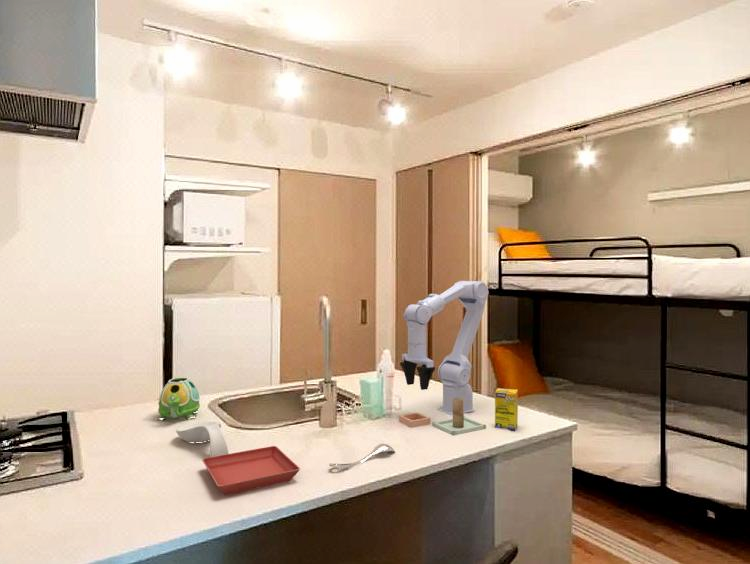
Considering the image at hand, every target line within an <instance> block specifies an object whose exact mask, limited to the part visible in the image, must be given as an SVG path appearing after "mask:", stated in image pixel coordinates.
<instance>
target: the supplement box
mask: <svg viewBox="0 0 750 564" xmlns="http://www.w3.org/2000/svg"><path fill="white" fill-rule="evenodd" d="M494 393H495V394H494V428H497V429H506V430H509V431H514V432H515V431H516V430H517V427H518V423H519V422H518V417H519V416H518V415H519V413H518V412H519V408H518V407H519V403H518V402H519V400H518V398H519V389H512V388H511V389H510V388H501V387H498V388H497V389H496V390H495V392H494Z"/></svg>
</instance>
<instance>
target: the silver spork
mask: <svg viewBox="0 0 750 564" xmlns="http://www.w3.org/2000/svg"><path fill="white" fill-rule="evenodd" d="M386 452H393V453H396V451H395V449H394V448H393V447H392V446H391V445H389V444H387V443H379V444H377V445H376V446H375V447H374V448H373V450H372V451H371V452H369V453H368V454H367V455H366V456H365V457H363V458H362V459H360V460H357V461H355V462H351V463H328V465H329V466H330V467H332V468H335V469H341V470H348V469H349V470H350V469H352V468H354V467H355V466H358V465H361V464H363V463H364V462H365V461H366V460H368V459H369V458H370V457H372V456H374V455H377V454H379V453H386ZM360 463H361V464H360Z"/></svg>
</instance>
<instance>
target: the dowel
mask: <svg viewBox="0 0 750 564" xmlns="http://www.w3.org/2000/svg"><path fill="white" fill-rule="evenodd" d="M452 403H453V415H452V419H453V427H454V428H463V427H464V417H465V416H464V414H465V413H464V404H463V399H462V398H454V399H452Z"/></svg>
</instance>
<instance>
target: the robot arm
mask: <svg viewBox="0 0 750 564" xmlns="http://www.w3.org/2000/svg"><path fill="white" fill-rule="evenodd" d="M489 293H490V292H489V288H488V285H487V284H486V282H485V281H483V280H477V281H476V280H475V281H474V280H459V281H458V282H457V281H456V282H455V283H454V284H453V285H452V286H451V287H450V288H448V289H446V290H445V291H444V292H442V293H440V294H437V293H430V294H428V295H427V297H426V298H424V299H423V300H418V301H417V303H416V304H414V303H413V304H409V305H408V306H407V307H406V308H405V310H404V313H403V318H404V320H405V322H406V327H407V353H401V360H402V361H401V362H399V365H400V367H401V368H402V371H403V374H404V376H405V381H406V384H407V385H408V386H409V385H414V384H415V376H416V374H415V373H416V371H417V373H418V377H419V378H418V379H419V386H420V390H421V391H425V390H428V389H429V385H430V381H431V377H432V375H433V373H434V372H435V370H436V367H435V366H434V360H433V359H430V358H429V357H427V323H429V321H430V320H431V318H432V316H434V315H436V314H438V313H439V312H441V311H443V310H444V308H445V305H446V304H448V303H450V302H453V301H454V300H457V299H458V300H459V301H460V303H461V305H463V307H464V308H465V311H466V312H465V314H464V318H463V320H462V322H461V326H460V329H459V330H458V334H457V336H456V339H455V342H454V346H453V348H452V350H451V353H450V354H448V355H446V356H445V357H444V358H443V360H442V363H440V365H439V366H438V369H437V376H438V378H439V380H440V381H441V384H442V407H437V410H439V411H440V412H444V413H446V414H449V415H451V416H453V403H452V399H454V398H462V399H463V404H464V414H467V413H472V412H475V409H474V408H473V402H474V401H473V397H474V396H473V393H474V391H473V389H472V386H471V385H470V384H469V381H470V379H471V370H472V367H473V366H472V364H471V362H470V361H469V359H468V358H469V355H470V352H471V350H472V346H473V344H474V340H475V337H476V335H477V333H478V329H479V326H480V323H481V319H482V318H483V315H484V310H485V306H486V302H487V299H488V297H489ZM418 365H420V366H418Z"/></svg>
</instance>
